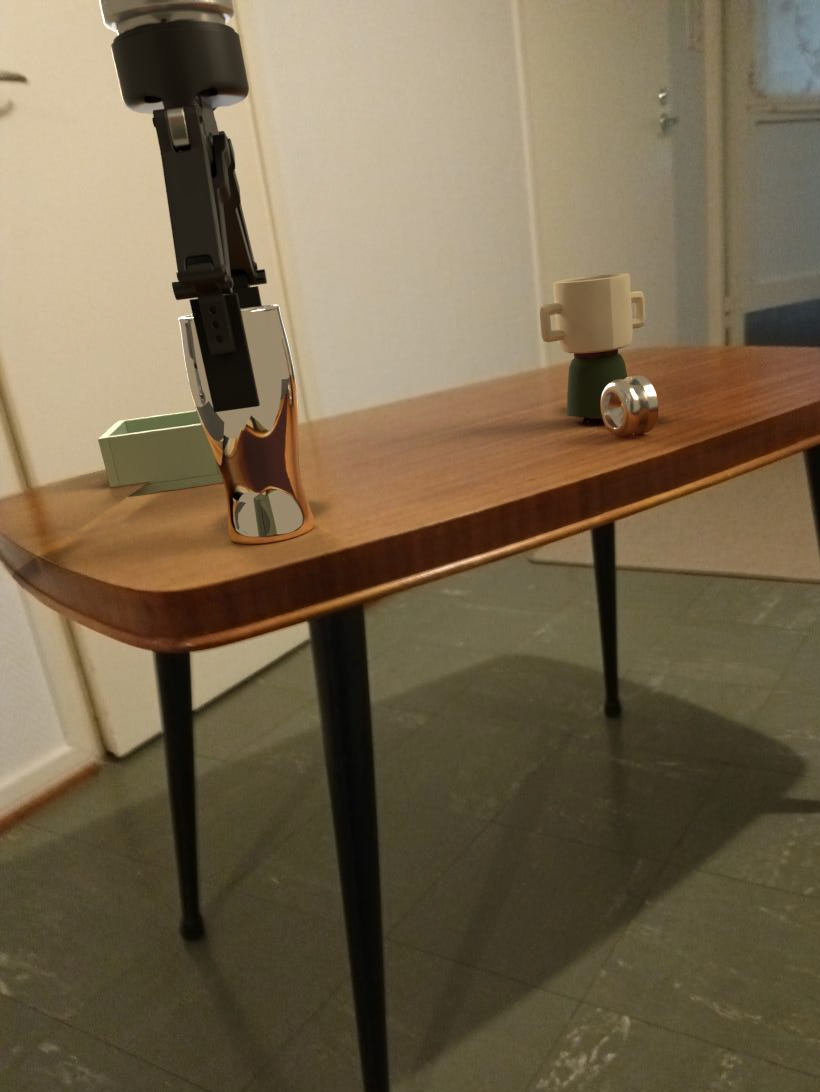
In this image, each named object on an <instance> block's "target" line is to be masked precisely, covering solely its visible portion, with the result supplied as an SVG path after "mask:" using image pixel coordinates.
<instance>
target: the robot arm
mask: <svg viewBox="0 0 820 1092" xmlns="http://www.w3.org/2000/svg"><path fill="white" fill-rule="evenodd" d="M98 2H99V7H100V10H101V16H102V20H103V24H104V26H105V27H106V28H107V29H109V30H111V31H112V32H114V33H115V34H117V35H116V36H115V37H114V38H113V39H112V43H111V44H110V52H111V54H112V59H113V63H114V68H115V72H116V77H117V83H118V86H119V90H120V95H121V99H122V103H123V104H124V105H125V107H126V108H127V109H129V110H130V111H133V112H134V113H139V114H146V115H152V117H151V120H152V124H153V127H154V128H155V131H156V137H157V142H158V146H159V152H160V157H161V158H160V159H161V165H162V172H163V173H162V174H163V179H164V186H165V193H166V200H167V208H168V213H169V214H168V215H169V221H170V227H171V235H172V241H173V248H174V256H175V263H176V269H177V270H176V279H177V281H172V282H171V287H172V291H173V292H172V293H173V295H174V298H175V300H176V301H182V300H183V301H184V300H189V304H190V309H191V313H192V314H191V315H193V319H194V323H195V328H196V332H197V337H198V341H199V346H200V350H201V355H202V359H203V364H204V368H205V373H206V378H207V382H208V387H209V391H210V396H211V400H212V405H213V409H214V412H221V411H228V410H235V409H243V408H250V407H257V406H259V405H260V403H259V398H258V393H257V388H256V383H255V378H254V373H253V368H252V363H251V358H250V353H249V348H248V343H247V338H246V333H245V328H244V323H243V319H242V314H241V309H240V308H243V307H252V306H263V305H262V299H261V294H260V289H259V286H260V285H266V284H268V281H267V274H266V270H265V268H262V269H259V268H258V263H257V262H256V261H255V257H254V253H253V249H252V245H251V240H250V236H249V231H248V229H247V228H248V227H247V223H246V219H245V215H244V211H243V206H242V201H241V189H240V184H239V181H238V177H237V173H236V157H235V151H234V145H233V142H232V139H231V138H229V137H228V136H227V133H226V132H225V130H219V127H218V124H217V120H216V117H215V113H214V112H215V111H216V109H217V108H221V107H231V106H234V105H237V104H239V103H241V102H243V101H244V100H245V99H247V97H248V95H249V92H250V86H249V80H248V75H247V70H246V66H245V59H244V54H243V49H242V48H243V47H242V43H241V37H240V34H239V33H238V32H236V29H235V28H233V27H232V26H230V25H227V24H228V23H230V21H231V20H232V18H233V17H234V15H235V9H234V4H233V0H98Z"/></svg>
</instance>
